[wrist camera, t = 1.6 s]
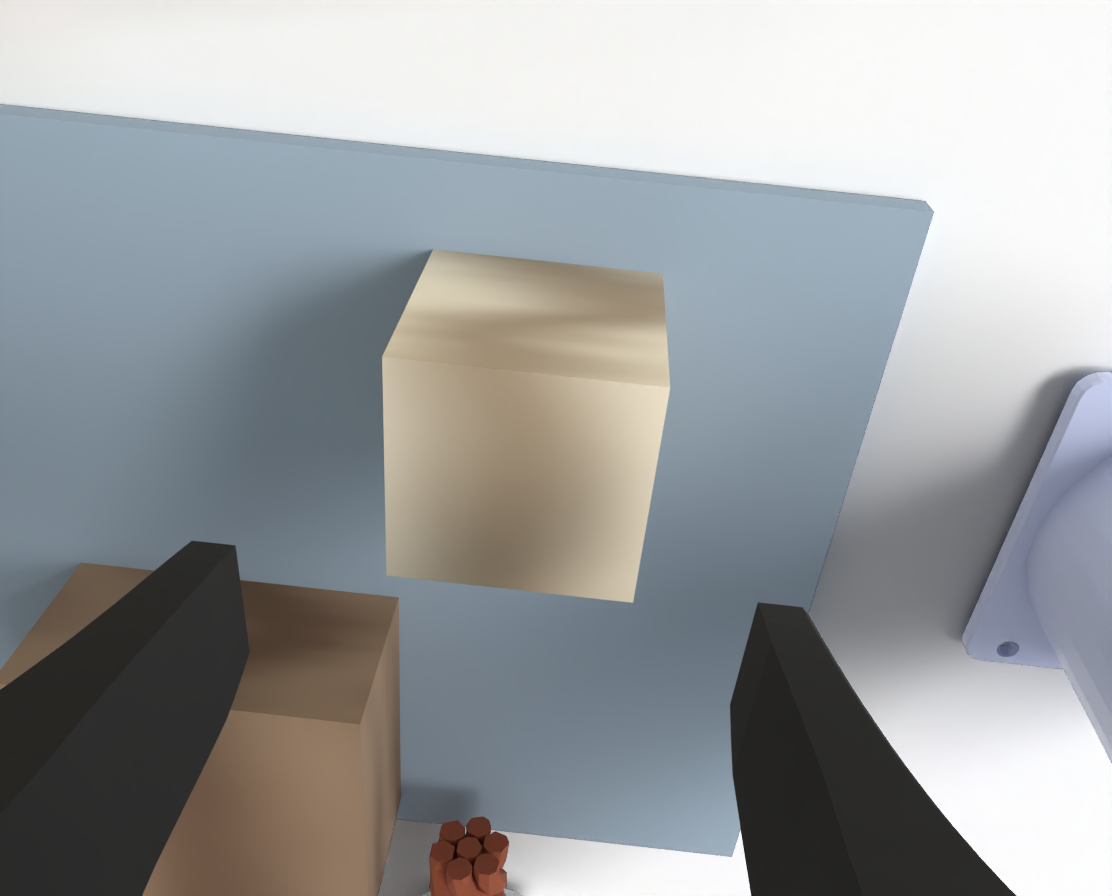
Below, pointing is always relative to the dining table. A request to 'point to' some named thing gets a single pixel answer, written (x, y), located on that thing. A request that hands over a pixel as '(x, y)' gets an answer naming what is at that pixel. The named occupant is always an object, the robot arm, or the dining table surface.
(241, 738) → the walnut base
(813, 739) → the robot arm
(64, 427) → the mat
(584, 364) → the maple cube
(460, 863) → the cable
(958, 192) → the dining table surface
